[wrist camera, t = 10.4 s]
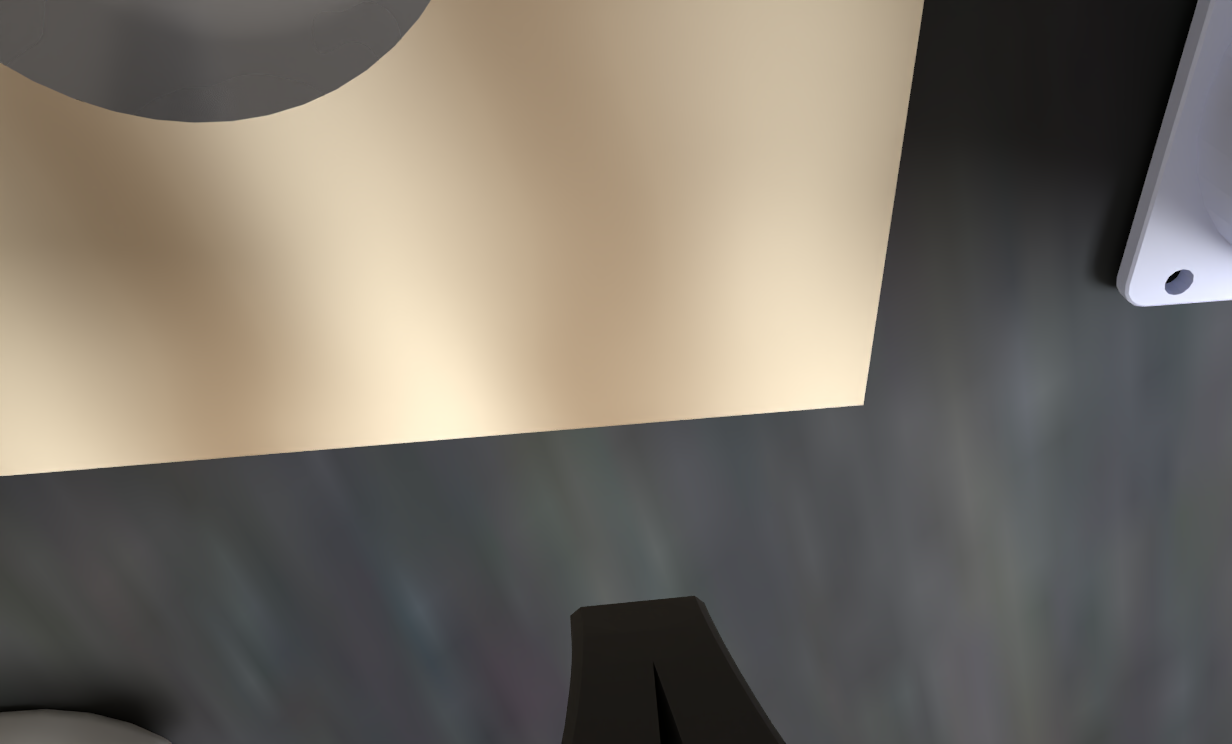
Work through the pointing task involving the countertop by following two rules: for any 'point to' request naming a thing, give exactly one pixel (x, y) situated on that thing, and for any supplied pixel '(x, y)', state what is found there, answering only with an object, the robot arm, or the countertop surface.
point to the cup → (70, 729)
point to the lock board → (461, 237)
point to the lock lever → (199, 51)
